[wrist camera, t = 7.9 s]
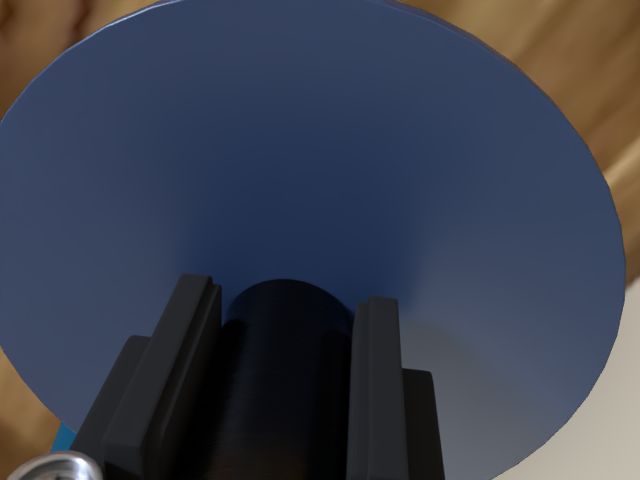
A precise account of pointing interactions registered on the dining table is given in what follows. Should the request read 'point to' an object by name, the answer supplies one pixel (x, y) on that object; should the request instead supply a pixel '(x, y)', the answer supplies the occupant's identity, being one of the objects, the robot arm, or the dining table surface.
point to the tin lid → (308, 226)
